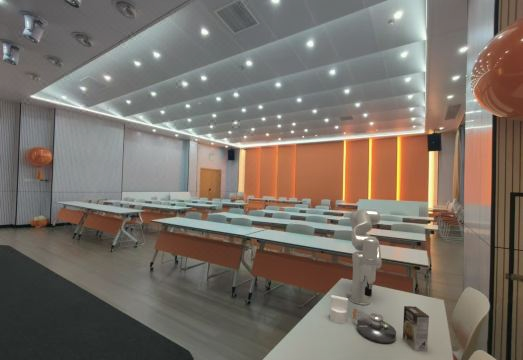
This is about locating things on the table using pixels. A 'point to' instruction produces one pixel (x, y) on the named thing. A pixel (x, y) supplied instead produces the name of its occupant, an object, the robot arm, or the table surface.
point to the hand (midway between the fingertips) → (368, 295)
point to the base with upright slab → (339, 309)
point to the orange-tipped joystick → (369, 318)
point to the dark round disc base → (377, 332)
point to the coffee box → (415, 328)
